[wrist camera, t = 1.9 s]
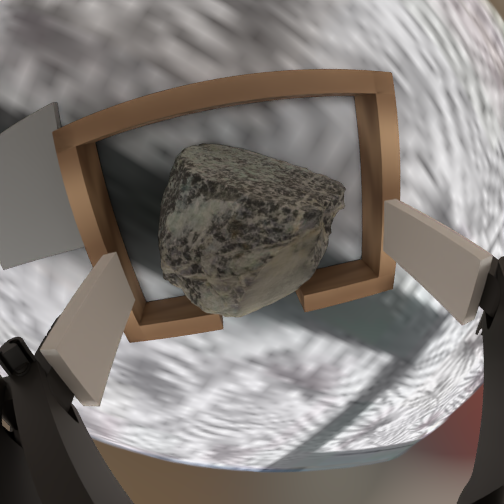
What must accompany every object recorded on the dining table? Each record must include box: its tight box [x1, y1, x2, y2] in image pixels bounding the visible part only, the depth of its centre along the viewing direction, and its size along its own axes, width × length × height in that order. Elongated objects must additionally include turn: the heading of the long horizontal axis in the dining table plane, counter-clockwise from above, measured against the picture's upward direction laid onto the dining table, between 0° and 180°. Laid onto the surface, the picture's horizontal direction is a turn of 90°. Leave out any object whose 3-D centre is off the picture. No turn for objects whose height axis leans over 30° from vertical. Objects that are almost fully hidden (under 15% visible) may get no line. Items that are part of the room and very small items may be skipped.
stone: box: [158, 143, 346, 317], centre depth 16 cm, size 10×10×10 cm
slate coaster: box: [0, 102, 85, 270], centre depth 16 cm, size 11×11×1 cm
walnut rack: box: [52, 69, 400, 343], centre depth 18 cm, size 16×21×3 cm
